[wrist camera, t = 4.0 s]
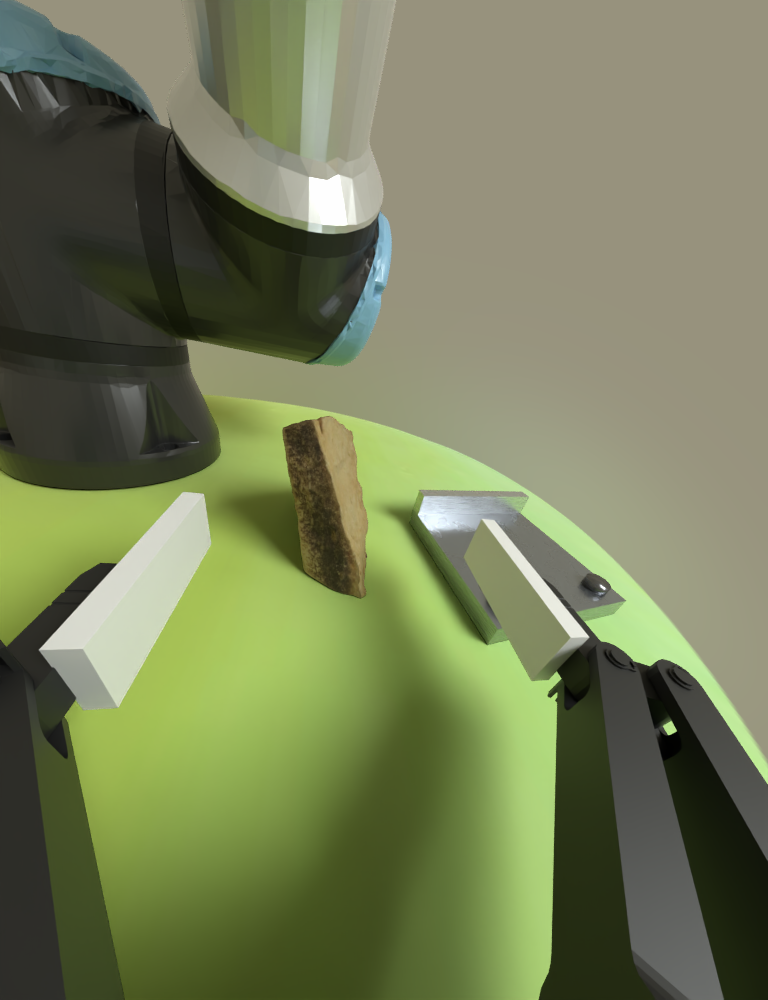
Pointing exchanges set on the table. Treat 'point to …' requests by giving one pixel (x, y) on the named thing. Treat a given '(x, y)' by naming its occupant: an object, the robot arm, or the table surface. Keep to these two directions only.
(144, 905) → the table surface
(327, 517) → the rock
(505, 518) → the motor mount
